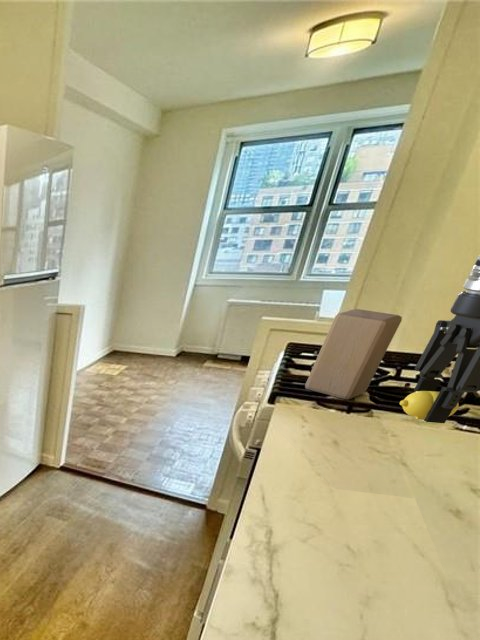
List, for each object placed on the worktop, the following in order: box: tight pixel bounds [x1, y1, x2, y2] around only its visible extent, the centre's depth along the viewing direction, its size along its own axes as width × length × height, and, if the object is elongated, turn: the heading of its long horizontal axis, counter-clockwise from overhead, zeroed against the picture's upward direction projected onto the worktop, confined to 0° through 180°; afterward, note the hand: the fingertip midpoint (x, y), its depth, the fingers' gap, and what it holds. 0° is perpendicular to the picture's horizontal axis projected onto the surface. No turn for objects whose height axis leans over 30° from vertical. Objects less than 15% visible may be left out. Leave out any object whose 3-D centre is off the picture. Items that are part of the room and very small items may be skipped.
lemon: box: [399, 391, 459, 421], centre depth 93 cm, size 8×5×5 cm, turn 73°
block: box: [304, 308, 403, 401], centre depth 121 cm, size 10×10×20 cm
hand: (424, 415), depth 94 cm, fingers closed on lemon, 5 cm apart
